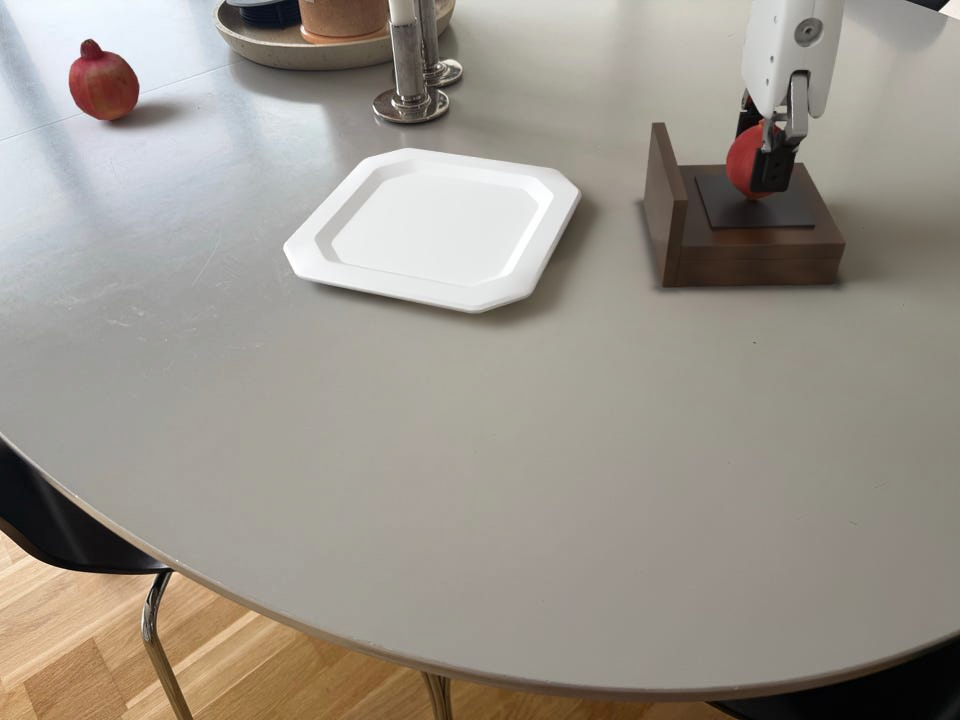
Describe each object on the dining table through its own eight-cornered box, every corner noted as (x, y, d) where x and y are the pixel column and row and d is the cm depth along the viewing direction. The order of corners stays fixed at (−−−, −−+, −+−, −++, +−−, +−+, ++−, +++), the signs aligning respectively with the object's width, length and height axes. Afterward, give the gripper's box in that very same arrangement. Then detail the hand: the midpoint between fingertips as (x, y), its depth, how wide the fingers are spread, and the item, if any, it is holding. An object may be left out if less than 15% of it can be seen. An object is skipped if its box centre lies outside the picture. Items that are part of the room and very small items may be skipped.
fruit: (150, 125, 102) (123, 45, 95) (82, 138, 100) (50, 57, 93) (147, 99, 108) (121, 22, 101) (82, 111, 106) (52, 33, 99)
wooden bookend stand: (793, 200, 83) (814, 118, 77) (833, 284, 73) (861, 196, 67) (643, 204, 84) (652, 122, 78) (662, 287, 74) (673, 200, 67)
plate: (517, 337, 69) (517, 317, 68) (265, 285, 76) (260, 266, 75) (591, 191, 86) (592, 172, 85) (379, 159, 93) (377, 141, 92)
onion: (735, 176, 78) (750, 96, 73) (794, 192, 76) (814, 111, 70) (709, 204, 75) (723, 122, 69) (771, 222, 72) (790, 138, 67)
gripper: (895, -6, 55) (829, 223, 67) (822, -78, 67) (777, 125, 79) (781, -2, 55) (736, 225, 67) (730, -75, 68) (699, 127, 80)
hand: (759, 169), depth 73 cm, fingers closed on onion, 5 cm apart
